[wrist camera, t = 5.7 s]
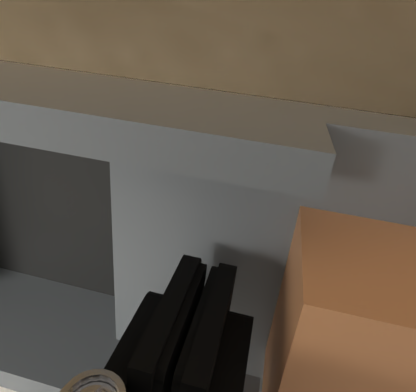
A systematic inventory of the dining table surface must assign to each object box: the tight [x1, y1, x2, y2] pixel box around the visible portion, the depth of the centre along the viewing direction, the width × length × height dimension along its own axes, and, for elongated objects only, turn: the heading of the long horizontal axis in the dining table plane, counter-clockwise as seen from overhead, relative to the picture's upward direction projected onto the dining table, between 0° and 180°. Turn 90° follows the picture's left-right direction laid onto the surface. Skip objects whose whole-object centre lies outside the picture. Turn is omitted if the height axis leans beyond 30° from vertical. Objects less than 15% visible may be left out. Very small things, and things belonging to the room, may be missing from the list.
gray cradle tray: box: [0, 60, 416, 392], centre depth 12 cm, size 11×27×5 cm, turn 84°
